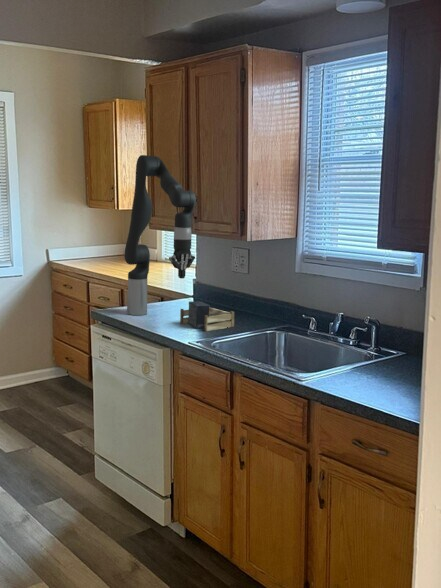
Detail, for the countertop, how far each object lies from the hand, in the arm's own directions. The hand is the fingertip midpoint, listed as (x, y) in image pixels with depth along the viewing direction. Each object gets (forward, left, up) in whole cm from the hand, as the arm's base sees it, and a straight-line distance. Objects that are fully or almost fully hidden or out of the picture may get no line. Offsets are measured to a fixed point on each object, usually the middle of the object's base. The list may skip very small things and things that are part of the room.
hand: (181, 278), depth 275 cm
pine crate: (+1, +13, -22) cm, 26 cm away
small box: (0, +10, -23) cm, 25 cm away
